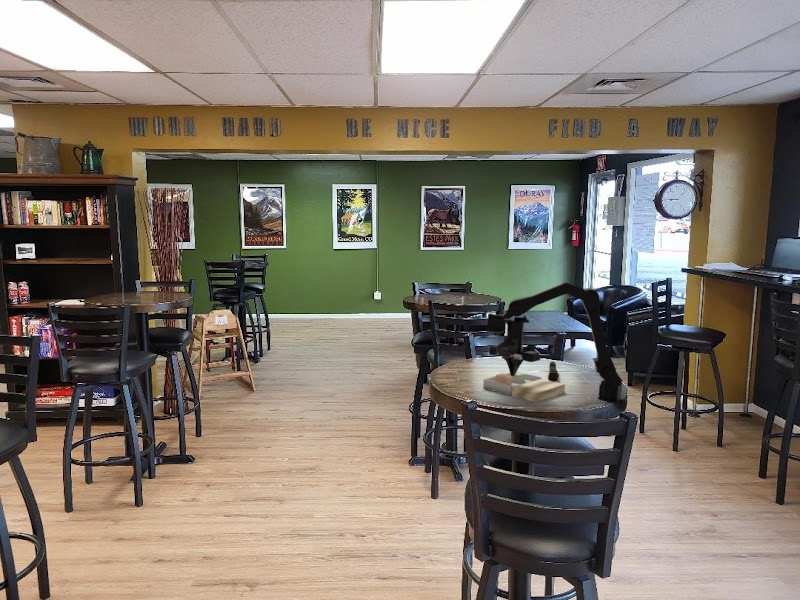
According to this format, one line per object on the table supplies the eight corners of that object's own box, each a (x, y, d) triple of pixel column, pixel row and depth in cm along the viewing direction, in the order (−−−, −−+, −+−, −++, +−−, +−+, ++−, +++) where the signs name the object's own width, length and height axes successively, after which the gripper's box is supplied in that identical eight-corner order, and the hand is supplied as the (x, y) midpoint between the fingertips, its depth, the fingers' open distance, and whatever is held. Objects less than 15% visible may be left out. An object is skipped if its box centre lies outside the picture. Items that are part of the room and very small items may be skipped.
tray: (541, 386, 213) (541, 377, 212) (510, 395, 199) (510, 386, 199) (514, 379, 221) (514, 371, 221) (483, 388, 208) (483, 379, 207)
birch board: (564, 392, 205) (565, 384, 205) (535, 402, 192) (536, 393, 192) (540, 386, 212) (541, 378, 212) (511, 395, 199) (511, 387, 199)
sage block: (515, 371, 216) (514, 379, 217) (508, 373, 213) (508, 380, 213) (525, 373, 213) (524, 381, 213) (518, 375, 210) (518, 383, 210)
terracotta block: (502, 373, 210) (501, 380, 211) (496, 375, 207) (494, 382, 208) (512, 377, 207) (511, 384, 208) (506, 379, 204) (504, 386, 205)
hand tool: (558, 382, 220) (559, 371, 219) (547, 381, 221) (548, 370, 220) (558, 372, 238) (559, 361, 237) (549, 371, 239) (549, 360, 239)
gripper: (480, 332, 204) (478, 374, 206) (524, 340, 191) (521, 385, 193) (499, 329, 212) (496, 369, 214) (542, 337, 199) (539, 380, 200)
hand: (512, 376), depth 205 cm, fingers closed
